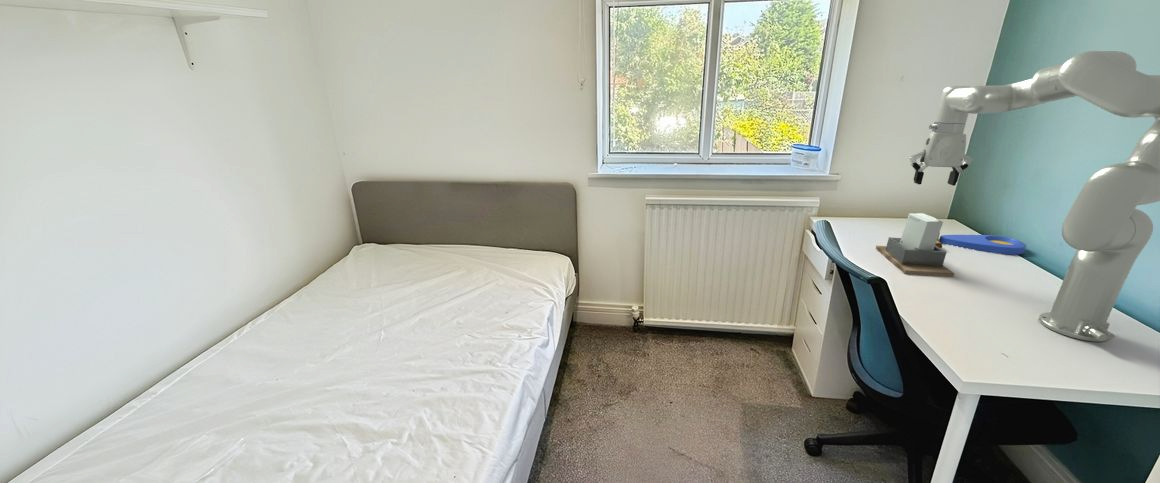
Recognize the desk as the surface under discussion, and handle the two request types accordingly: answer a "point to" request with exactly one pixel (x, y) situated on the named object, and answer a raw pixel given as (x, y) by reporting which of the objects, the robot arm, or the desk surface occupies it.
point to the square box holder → (915, 259)
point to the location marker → (986, 243)
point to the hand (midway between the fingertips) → (934, 184)
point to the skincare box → (920, 232)
